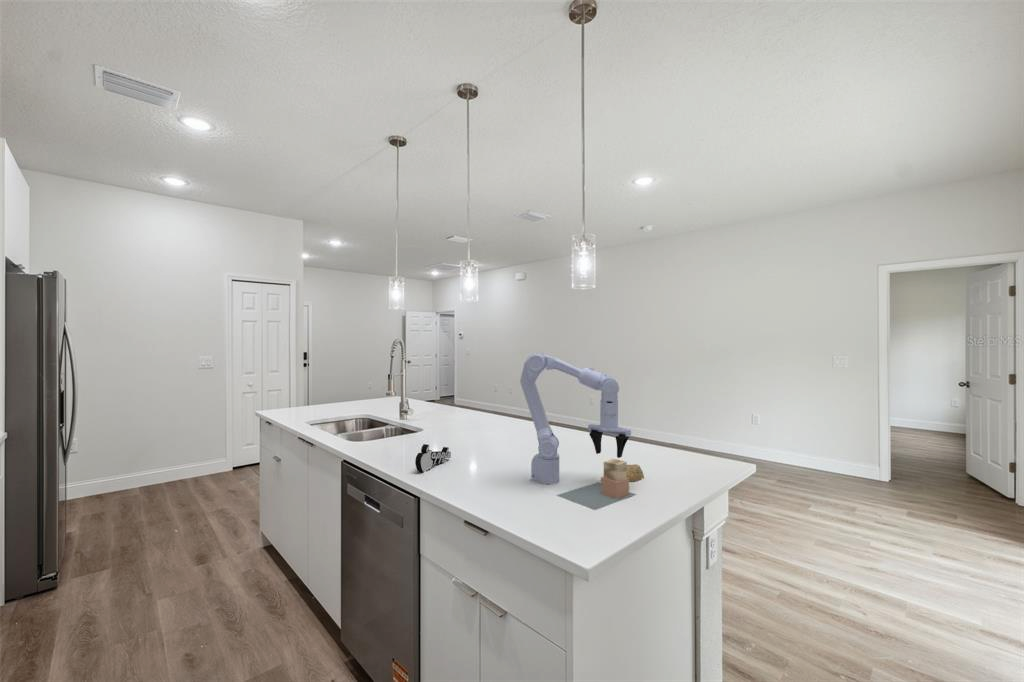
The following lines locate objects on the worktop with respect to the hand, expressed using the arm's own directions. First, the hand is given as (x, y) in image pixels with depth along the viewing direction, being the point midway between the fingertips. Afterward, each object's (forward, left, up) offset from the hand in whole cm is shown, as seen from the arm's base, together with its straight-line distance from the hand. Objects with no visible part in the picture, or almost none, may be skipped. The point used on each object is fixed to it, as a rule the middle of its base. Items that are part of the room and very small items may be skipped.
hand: (608, 455), depth 143 cm
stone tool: (+1, +13, -11) cm, 17 cm away
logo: (-56, -34, -11) cm, 66 cm away
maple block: (+7, -6, -5) cm, 10 cm away
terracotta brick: (+7, -6, -10) cm, 13 cm away
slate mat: (+4, -11, -10) cm, 16 cm away
